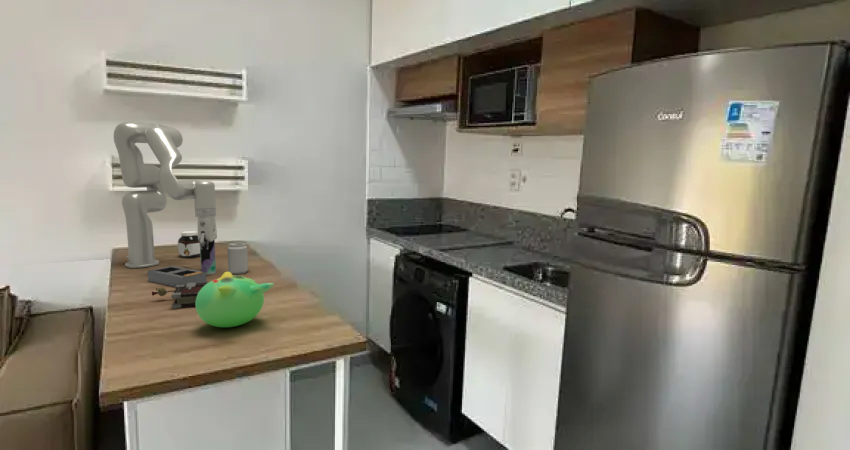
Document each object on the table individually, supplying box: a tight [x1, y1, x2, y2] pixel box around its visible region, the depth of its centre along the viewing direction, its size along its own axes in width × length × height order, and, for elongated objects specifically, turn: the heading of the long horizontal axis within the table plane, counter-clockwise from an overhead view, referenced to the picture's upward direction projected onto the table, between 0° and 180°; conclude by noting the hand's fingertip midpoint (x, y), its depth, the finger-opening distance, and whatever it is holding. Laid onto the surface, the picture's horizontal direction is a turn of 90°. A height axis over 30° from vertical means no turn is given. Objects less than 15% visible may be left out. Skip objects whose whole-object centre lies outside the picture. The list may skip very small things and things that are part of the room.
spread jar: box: [177, 230, 200, 259], centre depth 230 cm, size 12×11×12 cm
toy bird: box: [194, 271, 275, 328], centre depth 137 cm, size 18×17×15 cm
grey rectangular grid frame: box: [147, 265, 208, 288], centre depth 183 cm, size 20×10×4 cm, turn 61°
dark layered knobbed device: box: [151, 281, 210, 310], centre depth 160 cm, size 15×25×5 cm, turn 110°
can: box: [226, 242, 249, 275], centre depth 199 cm, size 8×8×12 cm
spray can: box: [199, 238, 217, 275], centre depth 196 cm, size 6×6×20 cm
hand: (207, 257), depth 197 cm, fingers closed on spray can, 5 cm apart
